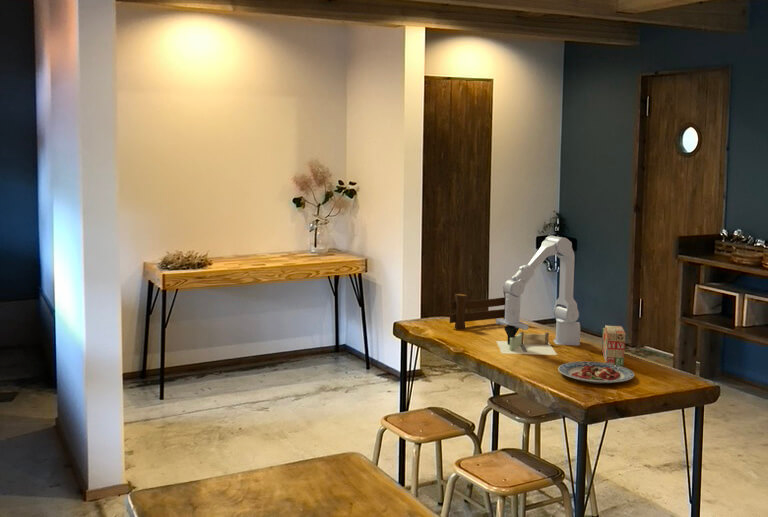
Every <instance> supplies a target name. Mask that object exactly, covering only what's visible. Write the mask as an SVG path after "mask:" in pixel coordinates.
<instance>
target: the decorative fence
mask: <svg viewBox="0 0 768 517" xmlns="http://www.w3.org/2000/svg"><path fill="white" fill-rule="evenodd" d="M502 292H503V296H504V297H497V298H487V299H477V300H467V298H468V295H467V294H463V293H454V298H455V299H454V300H453V301H452V300H451V301H449V307H450V310H455V313H450V314H449V322H448V323H449V324H454V327H453V328H454V329H456V330H461V331H462V330H465V329H466V323H467V322H476V321H477V322H478V321H486V320H488V321H489V320H496V319H498V318H500V319H505V307H504V308H502V309H501V308H500V309H492V310H491V309H490V310H482V311H481V310H479V311H473V312H470V311H469V312H466V310H470V309H472V310H474V309H482V308H484V309H485V308H492V307H493V308H494V307H499V306H501V307H502V306H505V302H506V296H505V292H504V290H503V291H502Z"/></svg>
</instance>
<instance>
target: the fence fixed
mask: <svg viewBox="0 0 768 517" xmlns="http://www.w3.org/2000/svg"><path fill="white" fill-rule="evenodd" d="M518 334H522V343H521V344H523V342H524V344H545V345H548V342H549V336H550V335H549V332H544V333H525V332H523V331H519V332H518Z"/></svg>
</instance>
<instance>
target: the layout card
mask: <svg viewBox="0 0 768 517" xmlns="http://www.w3.org/2000/svg"><path fill="white" fill-rule="evenodd" d="M495 342H496V344H497V346H498V348H499V350H500V353H501V355H502V354H509V355H543V356H545V355H547V356H549V355H550V356H558V353H557V352H556V351H555V349H554V348H553V347H552V345H551V344H550V342H549V341H548V345H545V344H524V341H523V344H520V345H519V346H518V347H516V348H515V349H514V350H510V345H508V340H507V341H506V340H496V341H495Z"/></svg>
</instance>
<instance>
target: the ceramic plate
mask: <svg viewBox="0 0 768 517" xmlns="http://www.w3.org/2000/svg"><path fill="white" fill-rule="evenodd" d="M557 370H558V372H559V373H560V374H562V375H564V376H566V377H568V378H570V379H575V380H578V381H580V382H585V383H591V384H603V385H604V384H605V385H606V384H615V383H621V382H626V381H630V380H632V379H633V378H634V377H635V373H634V371H632V370H631V369H629V368H628V367H624V366H620V365H614V364H609V363H606V362H601V361H600V362H599V361H572V362H571V361H570V362H566V363H563V364H561V365H559V366H558V368H557Z"/></svg>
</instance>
